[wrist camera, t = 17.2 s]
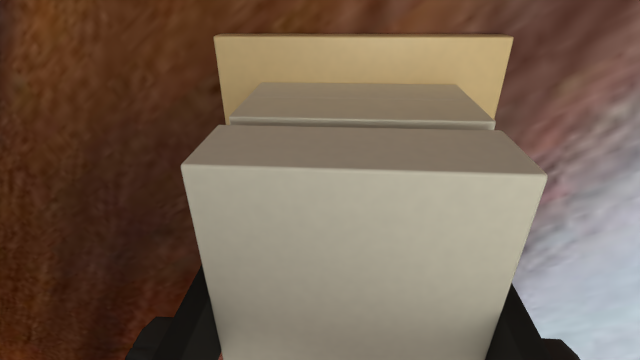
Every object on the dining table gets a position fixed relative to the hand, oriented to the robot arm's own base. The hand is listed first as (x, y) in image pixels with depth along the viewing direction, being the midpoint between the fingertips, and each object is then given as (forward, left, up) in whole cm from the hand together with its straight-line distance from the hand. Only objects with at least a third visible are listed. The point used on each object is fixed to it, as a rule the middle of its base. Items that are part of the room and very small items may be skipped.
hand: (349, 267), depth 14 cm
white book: (0, 0, 0) cm, 0 cm away
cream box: (0, 0, -7) cm, 7 cm away
